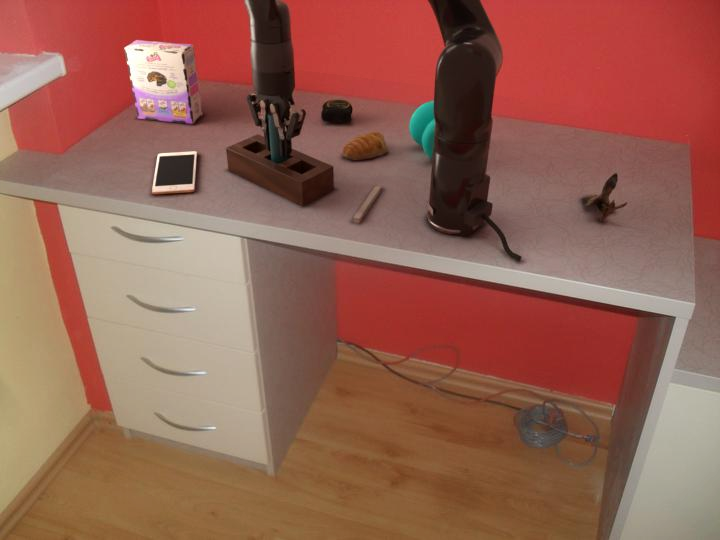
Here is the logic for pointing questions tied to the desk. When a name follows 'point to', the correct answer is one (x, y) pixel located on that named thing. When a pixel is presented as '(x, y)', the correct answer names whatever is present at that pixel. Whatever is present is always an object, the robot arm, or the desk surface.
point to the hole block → (281, 171)
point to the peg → (275, 141)
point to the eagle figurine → (604, 198)
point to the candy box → (164, 81)
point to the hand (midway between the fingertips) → (278, 152)
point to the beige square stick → (367, 204)
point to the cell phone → (175, 173)
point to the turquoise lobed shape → (424, 127)
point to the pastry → (366, 146)
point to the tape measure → (336, 111)
